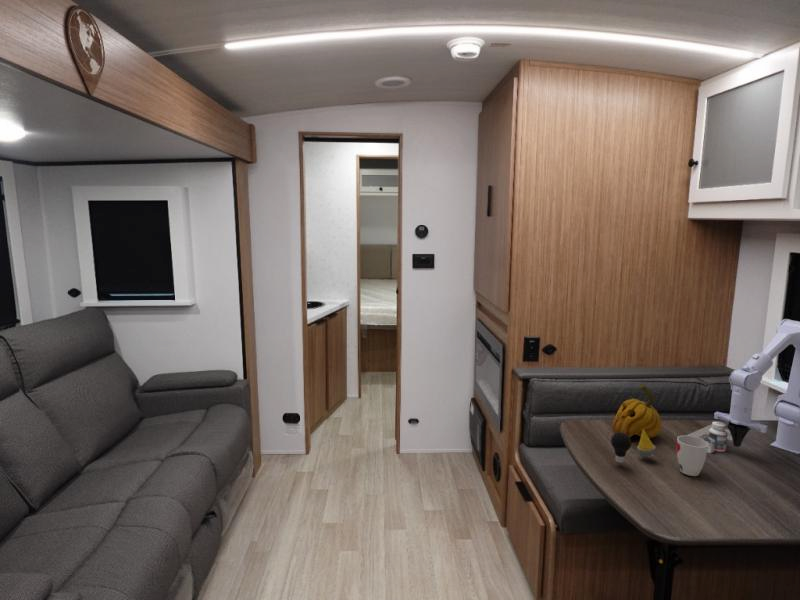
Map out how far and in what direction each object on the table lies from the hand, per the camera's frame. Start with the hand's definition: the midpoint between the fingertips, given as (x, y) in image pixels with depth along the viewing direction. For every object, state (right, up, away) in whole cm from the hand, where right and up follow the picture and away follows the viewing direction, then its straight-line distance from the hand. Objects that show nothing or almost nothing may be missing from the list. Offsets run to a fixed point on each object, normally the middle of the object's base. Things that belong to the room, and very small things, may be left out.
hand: (737, 445), depth 158 cm
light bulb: (-41, -4, -6) cm, 42 cm away
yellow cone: (-31, -4, -2) cm, 31 cm away
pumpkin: (-32, -2, +14) cm, 35 cm away
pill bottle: (-3, -3, +5) cm, 7 cm away
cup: (-22, -5, -11) cm, 25 cm away
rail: (-2, -2, +10) cm, 11 cm away
